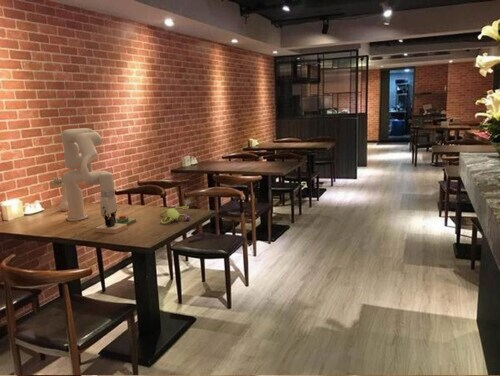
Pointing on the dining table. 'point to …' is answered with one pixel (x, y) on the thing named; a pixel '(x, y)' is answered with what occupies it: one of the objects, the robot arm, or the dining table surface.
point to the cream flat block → (111, 228)
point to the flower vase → (64, 202)
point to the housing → (125, 221)
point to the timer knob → (112, 221)
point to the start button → (122, 217)
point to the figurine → (174, 214)
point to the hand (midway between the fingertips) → (110, 224)
